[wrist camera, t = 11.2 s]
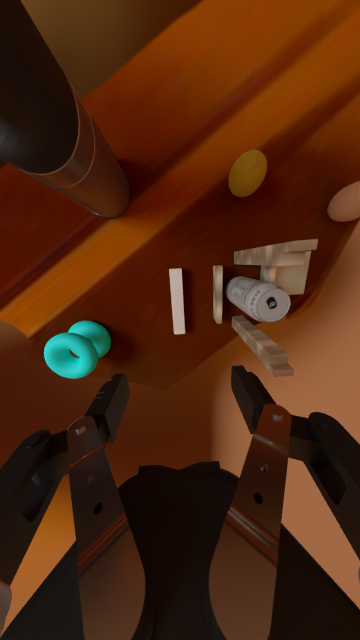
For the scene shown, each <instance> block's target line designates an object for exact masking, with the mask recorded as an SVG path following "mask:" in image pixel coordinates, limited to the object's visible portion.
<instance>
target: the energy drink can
mask: <svg viewBox="0 0 360 640" xmlns="http://www.w3.org/2000/svg"><path fill="white" fill-rule="evenodd" d="M225 293H226V296H227V298H228V300H229V301H231V302H232V303H233V304H235V305H236V306H237V307H239V308H240V309H241V310H243V311H244V312H245V313H247V314H248V315H249V316H251V317H252V318H254V319H255V320H257V321H261V322H273V321H277V320H279V319H281V318H282V317H283V316H285V314H286V313H287V312H288V310H289V308H290V297H289V295H288V294H287V293H286V292H285V290H284V289H283V288H282V287H281V286H280V285H278V284H275V283H270V282H266V281H261V280H257V279H252V278H247V277H242V276H239V277H235V278H233V279H232V280H230V281H229V283H228V284H227V286H226V291H225Z"/></svg>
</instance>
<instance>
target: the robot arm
mask: <svg viewBox="0 0 360 640" xmlns="http://www.w3.org/2000/svg"><path fill="white" fill-rule="evenodd" d="M0 158H2V159H3V160H5V161H7V162H8V163H10V164H12V165H14V166H15V167H17V168H19V169H20V170H22V171H24V172H25V173H27V174H29V175H31V176H32V177H34V178H36V179H37V180H39V181H41V182H42V183H44V184H46V185H48V186H49V187H51V188H53V189H54V190H56V191H58V192H59V193H61V194H63V195H65V196H66V197H68V198H70V199H71V200H73V201H75V202H76V203H78V204H80V205H82V206H83V207H85V208H87V209H88V210H90V211H92V212H93V213H95V214H97V215H99V216H101V217H104V218H113V217H116V216H118V215H120V214H121V213H122V212H124V210H125V209H126V207H127V205H128V203H129V198H130V188H129V183H128V180H127V177H126V176H125V174H124V172H123V170H122V169H121V167H120V165H119V164H118V161H117V158H116V156H115V155H114V153H113V151H112V150H111V148H110V146H109V144H108V143H107V141H106V139H105V138H104V136H103V134H102V132H101V131H100V129H99V127H98V126H97V124H96V122H95V121H94V119H93V117H92V116H91V115H90V114H88V112H87V110H86V109H85V107H84V105H83V104H82V102H81V100H80V99H79V97H78V95H77V94H76V92H75V90H74V89H73V87H72V85H71V84H70V82H69V81H68V79H67V77H66V76H65V74H64V72H63V70H62V69H61V67H60V65H59V64H58V62H57V60H56V59H55V57H54V56H53V54H52V52H51V51H50V49H49V47H48V46H47V44H46V43H45V41H44V39H43V37H42V36H41V34H40V32H39V31H38V29H37V27H36V26H35V24H34V22H33V21H32V19H31V17H30V16H29V14H28V12H27V11H26V9H25V7H24V6H23V4H22V2H21V1H20V0H0ZM231 387H232V391H233V394H234V396H235V398H236V400H237V403H238V405H239V408H240V410H241V412H242V415H243V417H244V419H245V422H246V424H247V426H248V429H249V431H250V434H254V435H253V437H252V440H251V443H250V446H249V450H248V453H247V456H246V459H245V462H244V465H243V469H242V472H241V475H240V478H239V477H237V476H236V475H234V474H233V473H231V472H229V471H227V470H224V469H221V468H220V465H219V461H212V462H199V463H196V464H193V465H191V466H188V467H186V468H183V469H180V470H177V469H173V468H169V467H165V466H161V465H149V466H139V471H138V474H137V475H135V476H133V477H131V478H130V479H128V480H126V481H125V482H124V483H123V484H122V485H121V486H119V488H118V489H117V486H116V483H115V480H114V477H113V474H112V471H111V468H110V465H109V462H108V459H107V456H106V454H105V450H104V449H105V446H106V444H107V443H113V442H114V439H115V436H116V433H117V431H118V428H119V425H120V422H121V419H122V417H123V414H124V411H125V408H126V405H127V402H128V399H129V395H130V390H129V385H128V380H127V376H126V374H125V373H121V374H114V376H113V378H112V380H111V381H107V382H106V383H105V384H104V385H103V386H102V387H101V389H100V390H99V392H98V394H97V395H96V397H95V399H94V400H93V402H92V404H91V405H90V407H89V409H88V410H87V412H86V414H85V415H84V417H81V418H79V419H77V420H76V421H75V422H73V423H72V424H71V425H70V427H69V428H68V430H65V431H63V432H60V433H57V434H54V435H51V434H50V432H49V431H48V430H40V431H37V432H35V433H33V434H31V435H30V436H29V437H27V438H26V439H25V440H24V441H23V442H22V443H21V444H20V445H19V446H18V448H17V449H16V450H15V451H14V452H13V454H12V455H11V456H10V457H9V459H8V460H7V461H6V462H5V464H4V465H3V466H2V467H1V469H0V635H1V633H2V630H3V628H4V624H5V619H6V616H7V614H8V611H9V608H10V604H11V598H12V592H11V588H10V585H11V583H12V581H13V579H14V576H15V574H16V572H17V570H18V568H19V566H20V564H21V562H22V560H23V558H24V556H25V554H26V552H27V550H28V548H29V545H30V543H31V541H32V539H33V537H34V535H35V532H36V531H37V529H38V527H39V525H40V523H41V521H42V518H43V516H44V514H45V512H46V510H47V508H48V506H49V504H50V502H51V500H52V498H53V496H54V494H55V492H56V490H57V488H58V485H59V483H60V481H61V479H62V477H63V476H64V475H67V474H69V482H70V491H71V500H72V508H73V516H74V525H75V534H76V541H75V542H74V544H73V545H72V546H71V547H70V549H69V550H68V551H67V553H66V554H65V555H64V556H63V557H62V559H61V560H60V561H59V563H58V564H57V565H56V566H55V568H54V569H53V570H52V571H51V573H50V574H49V575H48V576H47V578H46V579H45V580H44V581H43V583H42V584H41V585H40V586H39V588H38V589H37V590H36V592H35V593H34V594H33V595H32V597H31V598H30V599H29V600H28V602H27V603H26V604H25V605H24V607H23V608H22V609H21V610H20V612H19V613H18V614H17V615H16V617H15V618H14V619H13V621H12V622H11V623H10V625H9V626H8V627H7V629H6V630H5V631H4V633H3V634H2V636H1V637H0V640H360V609H359V608H358V607H357V606H356V604H355V603H354V602H353V601H352V600H351V599H350V598H349V597H348V596H347V595H346V593H345V592H344V591H343V590H342V589H341V588H340V587H339V586H338V585H337V584H336V583H335V582H334V580H333V579H332V578H331V577H330V576H329V575H328V574H327V573H326V572H325V571H324V569H323V568H322V567H321V566H320V565H319V564H318V563H317V562H316V561H315V559H313V557H312V556H311V555H310V554H309V553H308V552H307V551H306V550H305V549H304V547H303V546H302V545H301V544H300V543H299V542H298V541H297V540H296V539H295V537H293V535H292V534H291V533H290V532H289V531H288V530H287V529H286V528H285V526H284V525H283V524H282V523H281V519H282V510H283V501H284V492H285V483H286V474H287V464H288V457H289V458H293V459H296V460H300V461H303V462H304V464H305V466H306V467H307V469H308V471H309V472H310V474H311V476H312V478H313V480H314V481H315V483H316V485H317V487H318V488H319V490H320V492H321V494H322V495H323V497H324V499H325V501H326V502H327V504H328V506H329V508H330V509H331V511H332V513H333V515H334V516H335V518H336V520H337V522H338V523H339V525H340V527H341V528H342V530H343V532H344V534H345V535H346V537H347V539H348V541H349V542H350V544H351V546H352V548H353V549H354V551H355V553H356V554H357V556H358V558H359V560H360V444H358V442H357V441H356V440H355V439H354V438H353V437H352V436H351V435H350V434H349V433H348V432H347V430H346V429H344V427H343V426H342V425H341V424H340V423H339V422H338V421H337V420H335V419H334V418H332V417H331V416H329V415H326V414H324V413H320V412H313V413H311V414H310V415H309V418H304V417H299V416H294V415H291V414H290V413H289V412H288V411H287V410H286V409H285V408H283V407H282V406H279V405H277V404H276V403H275V401H274V400H273V399H272V397H271V396H270V394H269V393H268V391H267V390H266V388H265V387H264V386H263V384H262V383H261V381H260V380H259V378H258V377H257V376H256V375H255V374H253V373H252V372H247V371H246V370H245V368H244V367H243V366H242V365H241V366H232V373H231ZM358 576H359V582H360V567H359V571H358Z"/></svg>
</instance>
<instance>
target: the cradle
mask: <svg viewBox="0 0 360 640" xmlns="http://www.w3.org/2000/svg"><path fill="white" fill-rule="evenodd" d="M317 243H318V239H313V240H300V241H291V242H285V243H280V244H275V245H269V246H264V247H258V248H253V249H247V250H242V251H236V252H234V264H242V265H261V276H260V280H261V281H266V282H270V283H274V282H275V273H276V266H288V265H301V264H304V259H305V253H306V250H316V248H317ZM222 277H223V266H219V265H217V266H213V308H214V319H215V321H216V323H217V324H221V323H222ZM232 327H233V328H234V329H235V331H236V332H237V333H238V334H239V335H240V336H241V338H242V339H243V340H244V341H245V342H246V343H247V345H248V346H249V347H250V348H251V349H252V351H253V352H254V353H255V354H256V355H257V356H258V358H259V359H260V360H261V361H262V362H263V364H264V365H265V366H266V367H267V368H268V370H270V372H271V373H272V374H273V375H274V376H275V377H278V376H291V375H293V372H294V369H293V368H292V367H291V366H290V365H289V364H288V363H287V360H288V353H287V352H286V351H284V350H283V349H282V348H281V347H280V346H278V345H277V344H276V343H275V342H274V341H272V340H271V339H270V338H269V337H268V336H266V335H265V334H264V333H263V332H261V331H260V330H259V329H258V328H257V327H255V326H254V325H253V324H252V323H251V322H249V321H248V320H247V319H246V318H245V317H243V316H234V317H232Z"/></svg>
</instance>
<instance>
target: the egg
mask: <svg viewBox="0 0 360 640" xmlns="http://www.w3.org/2000/svg"><path fill="white" fill-rule="evenodd" d="M327 212H328V216H329V217H330V218H331V219H333V220H335V221H338V222H346V221H351V220H354V219H357V218H360V181H358V182H355V183H353V184H351V185H348V186H347V187H345V188H343V189H342V190H340V191H339V192H338V193H337V194H336V195H335V196H334V197H333V198H332V200H331V201H330V203H329V206H328V210H327Z"/></svg>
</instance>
